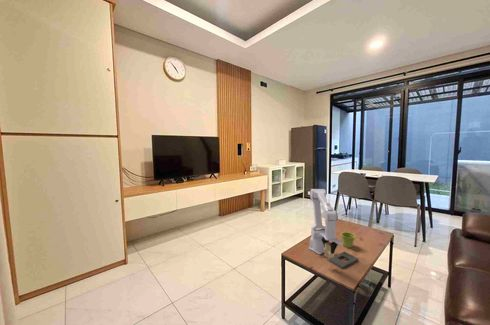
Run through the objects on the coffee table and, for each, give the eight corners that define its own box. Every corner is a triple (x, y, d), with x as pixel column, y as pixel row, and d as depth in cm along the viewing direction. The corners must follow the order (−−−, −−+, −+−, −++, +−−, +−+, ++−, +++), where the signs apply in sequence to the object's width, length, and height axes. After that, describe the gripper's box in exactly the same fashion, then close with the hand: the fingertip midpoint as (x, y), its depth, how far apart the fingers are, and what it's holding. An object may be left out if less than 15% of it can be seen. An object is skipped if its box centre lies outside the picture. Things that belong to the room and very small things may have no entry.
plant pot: (356, 245, 154) (356, 234, 153) (352, 250, 147) (353, 239, 146) (343, 241, 160) (343, 230, 159) (339, 246, 153) (339, 235, 152)
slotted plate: (328, 260, 134) (328, 258, 134) (344, 253, 143) (344, 251, 143) (342, 269, 126) (342, 266, 126) (358, 260, 134) (358, 258, 134)
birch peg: (324, 255, 128) (324, 243, 127) (328, 253, 130) (329, 241, 129) (329, 258, 125) (330, 246, 124) (334, 256, 127) (334, 244, 126)
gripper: (316, 227, 130) (315, 248, 131) (336, 236, 118) (335, 259, 119) (323, 225, 134) (322, 245, 135) (344, 233, 121) (343, 255, 123)
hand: (329, 251), depth 127 cm, fingers closed on birch peg, 4 cm apart
